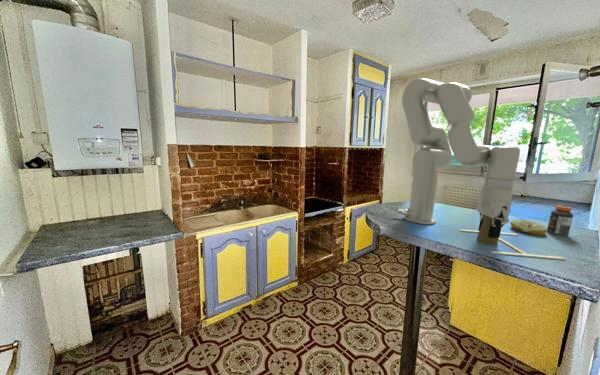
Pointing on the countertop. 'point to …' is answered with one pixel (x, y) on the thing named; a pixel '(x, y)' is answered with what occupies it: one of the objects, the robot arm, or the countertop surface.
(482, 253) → the countertop surface
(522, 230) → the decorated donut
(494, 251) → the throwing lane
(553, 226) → the pill bottle
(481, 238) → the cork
